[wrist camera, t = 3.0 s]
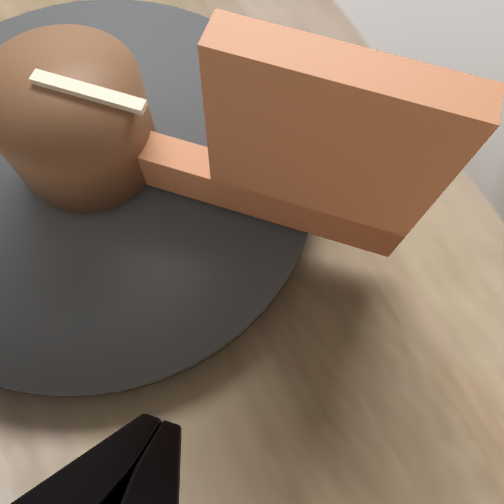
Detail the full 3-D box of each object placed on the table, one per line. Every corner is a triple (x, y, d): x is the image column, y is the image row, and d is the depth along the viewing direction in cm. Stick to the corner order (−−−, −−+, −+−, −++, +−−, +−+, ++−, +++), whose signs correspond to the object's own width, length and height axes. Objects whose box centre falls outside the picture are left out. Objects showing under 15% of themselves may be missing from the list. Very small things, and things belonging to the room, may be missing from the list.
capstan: (-3, 190, 23) (-170, 19, 13) (61, 86, 25) (-41, -117, 16) (376, 308, 21) (488, 206, 12) (403, 184, 23) (512, 20, 14)
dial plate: (-161, 95, 27) (-184, 75, 25) (204, -22, 32) (203, -45, 30) (-68, 499, 19) (-94, 505, 18) (396, 262, 24) (407, 251, 22)
